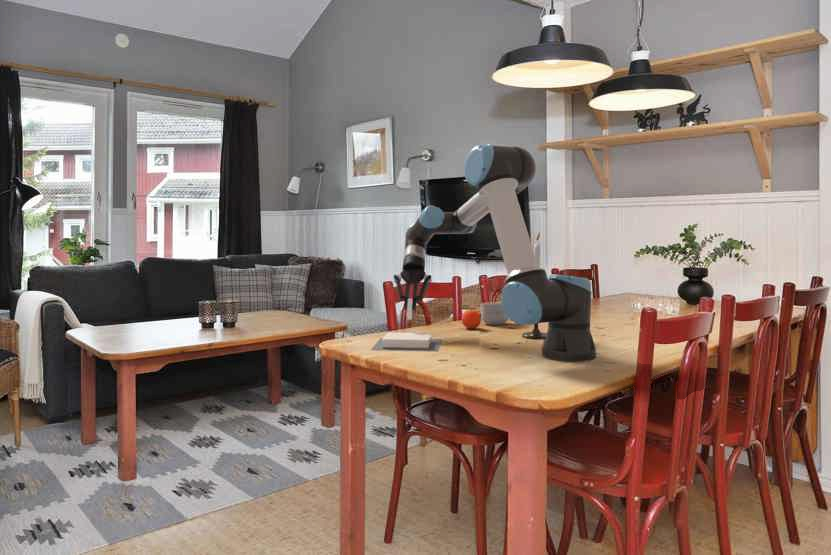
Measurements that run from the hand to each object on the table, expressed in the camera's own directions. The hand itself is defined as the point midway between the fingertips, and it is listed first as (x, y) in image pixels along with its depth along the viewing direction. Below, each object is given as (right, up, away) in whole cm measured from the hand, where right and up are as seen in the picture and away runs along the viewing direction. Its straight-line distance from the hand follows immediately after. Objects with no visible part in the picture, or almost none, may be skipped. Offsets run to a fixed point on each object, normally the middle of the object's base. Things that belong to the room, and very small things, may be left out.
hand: (409, 317), depth 209 cm
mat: (0, -9, -7) cm, 11 cm away
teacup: (+33, -5, +37) cm, 50 cm away
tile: (0, -6, -2) cm, 6 cm away
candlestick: (+42, -7, +9) cm, 44 cm away
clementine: (+21, -6, +26) cm, 34 cm away
